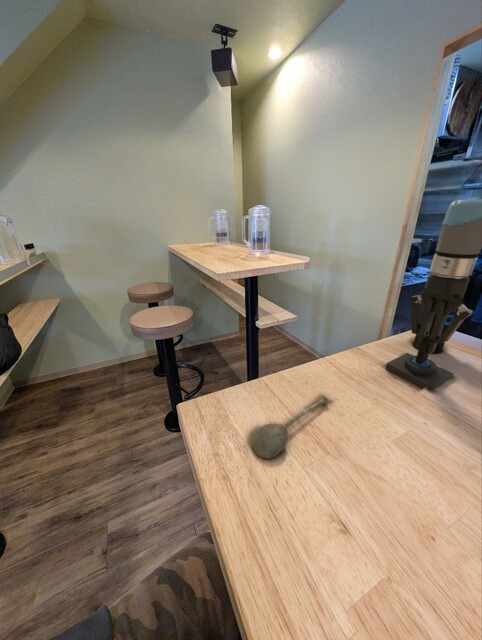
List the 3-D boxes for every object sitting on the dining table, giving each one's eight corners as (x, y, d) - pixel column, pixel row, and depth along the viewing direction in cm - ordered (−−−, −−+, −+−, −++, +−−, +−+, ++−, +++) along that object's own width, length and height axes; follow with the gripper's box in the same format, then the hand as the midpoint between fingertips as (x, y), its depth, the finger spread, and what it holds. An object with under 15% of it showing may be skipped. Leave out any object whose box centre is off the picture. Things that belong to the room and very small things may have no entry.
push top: (431, 368, 67) (433, 362, 66) (423, 373, 65) (425, 367, 65) (415, 361, 70) (417, 355, 70) (407, 365, 69) (409, 360, 68)
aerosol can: (409, 348, 81) (426, 289, 73) (415, 338, 86) (431, 282, 78) (440, 357, 76) (463, 294, 67) (444, 346, 81) (465, 287, 73)
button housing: (451, 380, 66) (456, 367, 65) (431, 394, 62) (435, 381, 60) (405, 358, 76) (408, 347, 74) (385, 369, 72) (387, 357, 70)
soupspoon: (245, 444, 52) (266, 469, 47) (245, 433, 50) (266, 458, 46) (315, 394, 63) (337, 411, 58) (316, 384, 61) (340, 400, 57)
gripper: (410, 271, 61) (388, 353, 71) (477, 284, 50) (441, 378, 60) (427, 266, 64) (404, 346, 74) (493, 278, 54) (456, 368, 64)
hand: (420, 360), depth 67 cm, fingers closed
